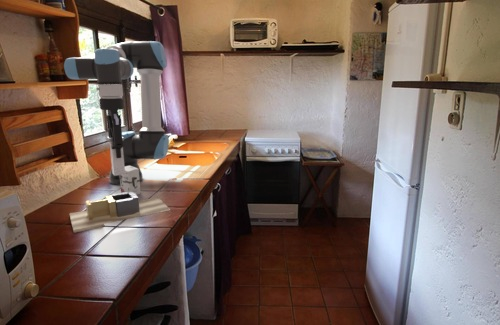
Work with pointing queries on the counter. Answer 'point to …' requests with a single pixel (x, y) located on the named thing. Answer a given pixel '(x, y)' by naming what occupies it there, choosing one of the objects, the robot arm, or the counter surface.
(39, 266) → the counter surface
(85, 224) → the mounting board
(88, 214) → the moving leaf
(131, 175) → the ink box
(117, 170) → the grey long block
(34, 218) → the counter surface
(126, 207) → the dark grey hollow housing
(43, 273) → the counter surface
